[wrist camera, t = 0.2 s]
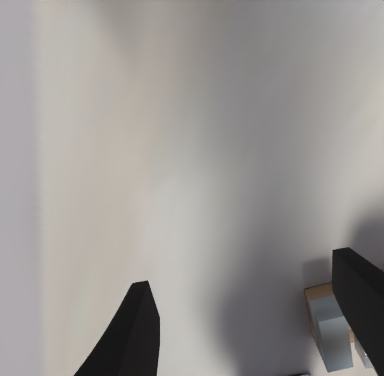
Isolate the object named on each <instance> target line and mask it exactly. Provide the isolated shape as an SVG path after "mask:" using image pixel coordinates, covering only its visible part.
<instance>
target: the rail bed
mask: <svg viewBox="0 0 384 376" xmlns="http://www.w3.org/2000/svg"><path fill="white" fill-rule="evenodd" d="M382 271H383V272H384V270H382ZM304 292H305V297H306V303H307V308H308V313H309V318H310V323H311V328H312V333H313V338H314V340H315V343H316V345H317V348H318V350H319V352H320V355H321V357H322V360H323V362H324V364H325V367H326V369H327V371H328V372H332V371H337V370H341V369H346V368H351V367H353V361H352V353H351V345H350V343H352V342H354V334H353V331H352V329H351V328H350V326H349V324H348V323H347V321H346V319H345V317H344V316H343V314H342V311H341V309H340V307H339V305H338V303H337V300H336V298H335V295H334V293H333V291H332V283H329V284H324V285H320V286H316V287H312V288H308V289H304Z"/></svg>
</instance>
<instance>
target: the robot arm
mask: <svg viewBox="0 0 384 376" xmlns="http://www.w3.org/2000/svg"><path fill="white" fill-rule="evenodd" d="M332 291H333V293H334V295H335V298H336V300H337V303H338V305H339V307H340V309H341V311H342V314H343V316H344V317H345V319H346V321H347V323H348V324H349V326H350V328H351V329H352V331H353V333H354V334H355V336H356V338H357V339H358V341H359V343H360V345H361V346H362V348H363V350H364V351H365V353H366V355H367V356H368V358H369V360H370V361H371V363H372V365H373V366H374V368H375V370H376V372H377V373H378V375H379V376H384V272H383V271H381V270H380V269H378V268H377V267H376V266H374V265H373V264H371V263H370V262H369V261H367V260H366V259H364V258H363V257H362V256H360V255H359V254H357V253H356V252H355V251H353V250H352V249H350V248H349V247H348V248H342V249H336V250H333V256H332ZM159 347H160V317H159V313H158V310H157V307H156V304H155V301H154V298H153V295H152V292H151V288H150V285H149V282H148V281H142V282H136V283H133V284H132V285H131V286H130V288H129V290H128V292H127V294H126V296H125V298H124V300H123V301H122V303H121V305H120V307H119V309H118V310H117V312H116V314H115V316H114V317H113V319H112V321H111V322H110V324H109V326H108V327H107V329H106V331H105V332H104V334H103V335H102V337H101V338H100V340H99V341H98V343H97V344H96V346H95V347H94V349H93V350H92V352H91V353H90V355H89V356H88V357H87V359H86V360H85V362H84V363H83V364H82V366H81V367H80V368H79V369H78V371H77V372H76V373H75V375H74V376H157V367H158V357H159ZM301 376H309V375H301Z"/></svg>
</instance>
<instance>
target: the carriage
mask: <svg viewBox="0 0 384 376" xmlns="http://www.w3.org/2000/svg"><path fill="white" fill-rule="evenodd" d="M353 334H354V333H353ZM354 343H355V349H356V351H357V352H358V354H359V356H360V358H361V360H362V362H363V364H364V366H365V367H366V369H367V368H372V367H373V368H374V366H373V365H372V363H371V361H370V360H369V358H368V356H367V355H366V353H365V351H364V350H363V348H362V346H361V345H360V343H359V341H358V339H357V338H356V336H355V334H354ZM374 370H375V368H374ZM375 371H376V370H375ZM376 373H377V372H376ZM377 375H378V373H377ZM378 376H379V375H378Z"/></svg>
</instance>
